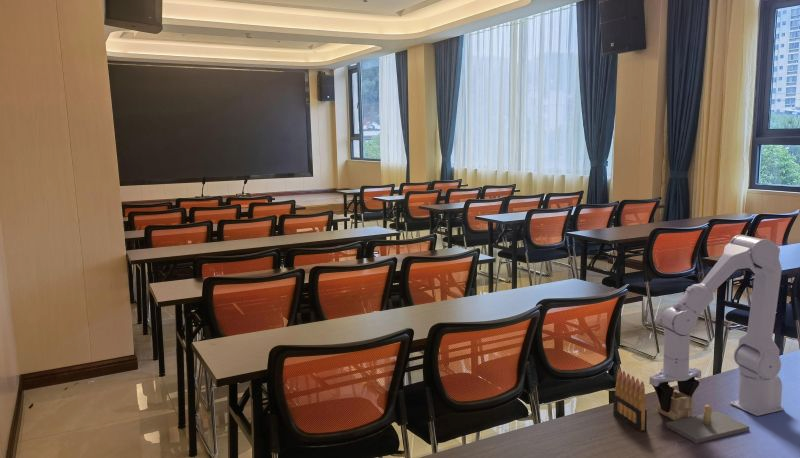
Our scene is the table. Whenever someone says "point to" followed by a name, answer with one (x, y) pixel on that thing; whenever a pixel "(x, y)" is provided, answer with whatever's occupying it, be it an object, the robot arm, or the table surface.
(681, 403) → the bead
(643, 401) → the ammunition clip
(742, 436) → the table surface
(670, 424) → the grey peg stand
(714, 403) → the table surface
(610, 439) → the table surface
